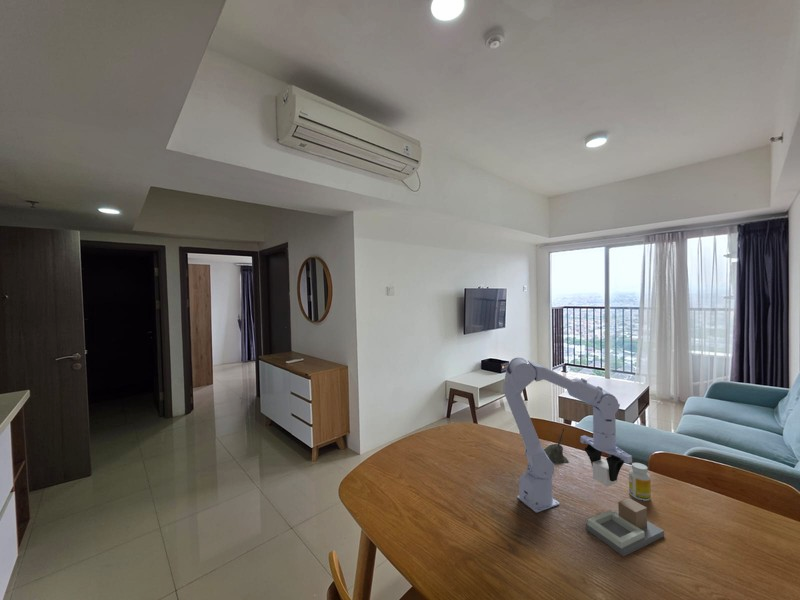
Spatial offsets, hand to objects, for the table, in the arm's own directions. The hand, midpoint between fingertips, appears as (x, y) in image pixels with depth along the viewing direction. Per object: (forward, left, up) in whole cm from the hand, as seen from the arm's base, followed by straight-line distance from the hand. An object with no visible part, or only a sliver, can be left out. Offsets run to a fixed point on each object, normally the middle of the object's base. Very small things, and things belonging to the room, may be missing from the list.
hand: (604, 475), depth 95 cm
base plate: (-6, -9, -9) cm, 14 cm away
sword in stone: (+9, +27, -9) cm, 30 cm away
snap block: (0, 0, -1) cm, 1 cm away
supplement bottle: (+14, -1, -9) cm, 17 cm away
